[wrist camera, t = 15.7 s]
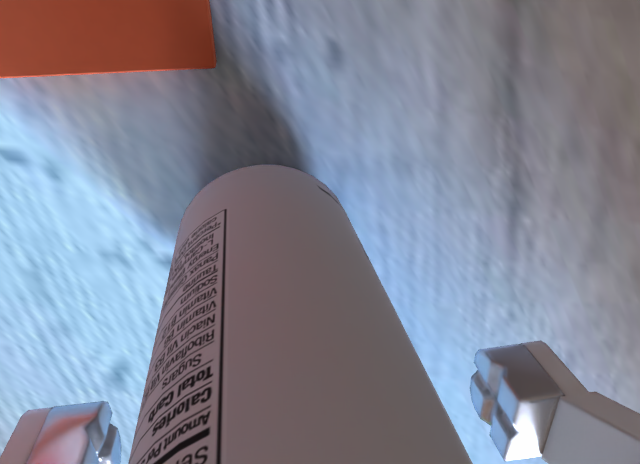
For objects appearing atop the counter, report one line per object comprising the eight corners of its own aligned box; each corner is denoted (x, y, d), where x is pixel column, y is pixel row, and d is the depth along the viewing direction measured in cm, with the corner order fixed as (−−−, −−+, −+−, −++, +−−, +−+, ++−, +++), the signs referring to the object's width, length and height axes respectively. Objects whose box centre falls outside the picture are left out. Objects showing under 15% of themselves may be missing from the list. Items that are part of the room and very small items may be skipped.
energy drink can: (310, 312, 19) (479, 1006, 6) (162, 280, 17) (-48, 1178, 4) (369, 183, 17) (838, 854, 4) (205, 130, 15) (42, 1086, 2)
